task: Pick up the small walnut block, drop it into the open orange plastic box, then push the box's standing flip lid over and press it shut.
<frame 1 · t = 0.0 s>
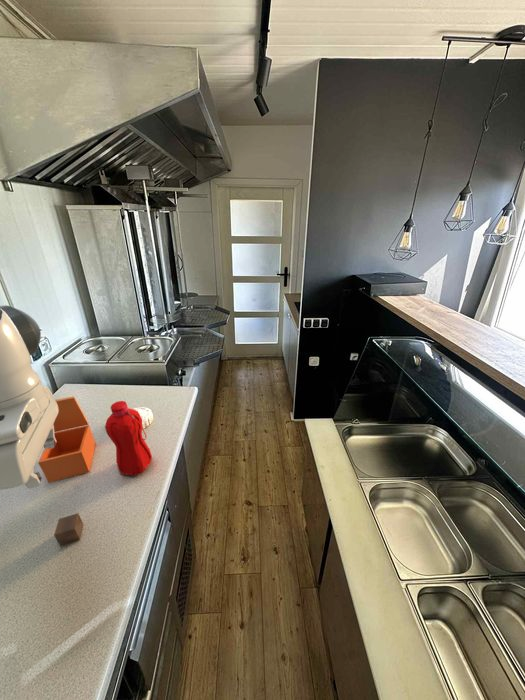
hand: (43, 463, 53), 34 cm above the countertop, tool pointing down, fingers open, 8 cm apart
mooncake: (137, 422, 115), on the countertop
block: (72, 534, 75), on the countertop
cupcake: (38, 440, 107), on the countertop
box: (73, 461, 97), on the countertop
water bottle: (138, 466, 95), on the countertop
box lid: (61, 415, 94), point 16 cm above the countertop, hinge at 75.0°
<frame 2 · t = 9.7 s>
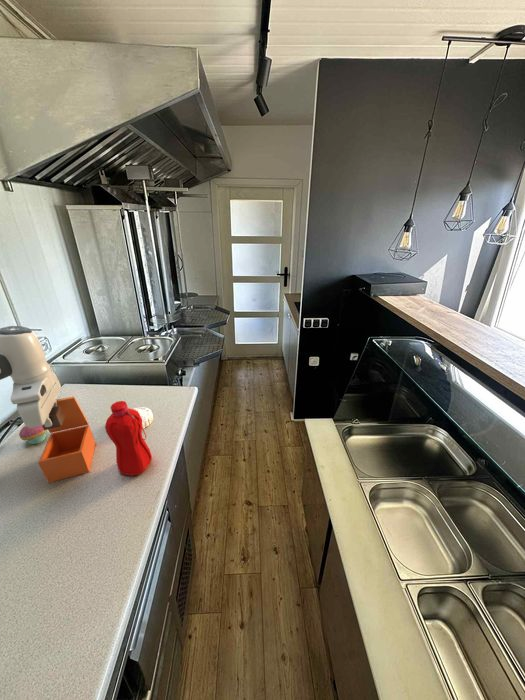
hand: (52, 419, 87), 20 cm above the countertop, tool pointing down, fingers closed on block, 4 cm apart
block: (54, 423, 88), point 18 cm above the countertop, touching gripper
box lid: (61, 415, 94), point 16 cm above the countertop, hinge at 74.9°, touching gripper
everything else where it was.
when the fingers open (10 cm above the countertop, at t = 12.5 s): block drops 8 cm, resting on box.
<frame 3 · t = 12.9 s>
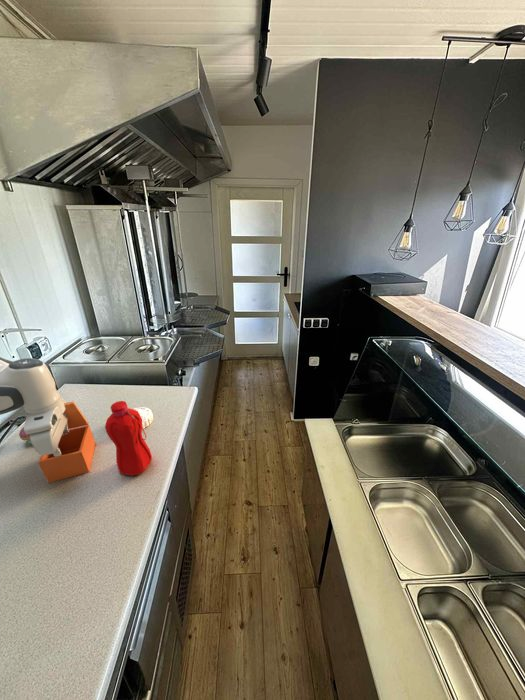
hand: (62, 444, 90), 10 cm above the countertop, tool pointing down, fingers open, 8 cm apart
block: (72, 466, 94), point 1 cm above the countertop, touching box
box lid: (61, 417, 94), point 16 cm above the countertop, hinge at 66.5°, touching arm, gripper
everything else where it was.
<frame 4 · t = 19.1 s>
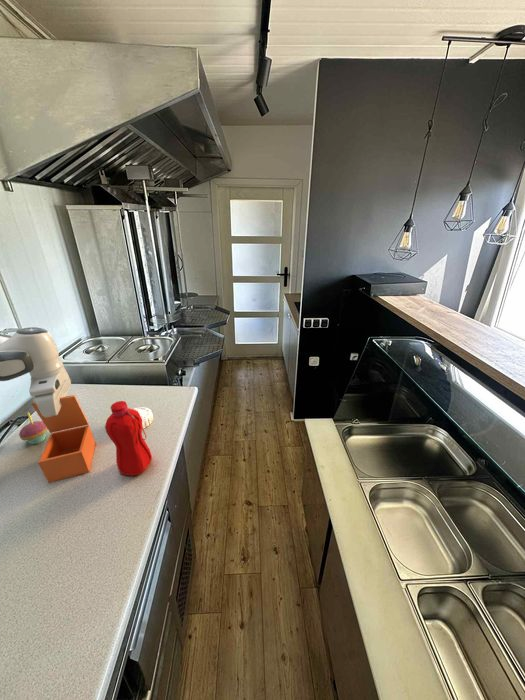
hand: (63, 411, 97), 16 cm above the countertop, tool pointing down, fingers closed
box lid: (62, 414, 95), point 16 cm above the countertop, hinge at 77.4°, touching gripper
everything else where it was.
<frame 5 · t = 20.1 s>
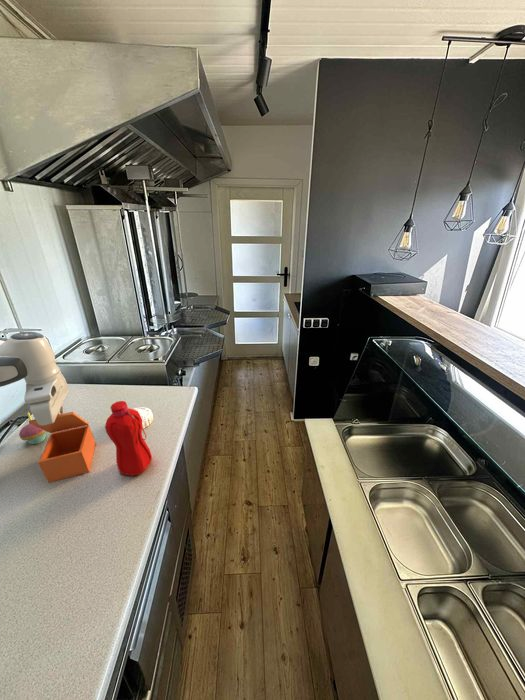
hand: (60, 418, 93), 16 cm above the countertop, tool pointing down, fingers closed
box lid: (61, 422, 93), point 15 cm above the countertop, hinge at 52.1°, touching gripper
everything else where it was.
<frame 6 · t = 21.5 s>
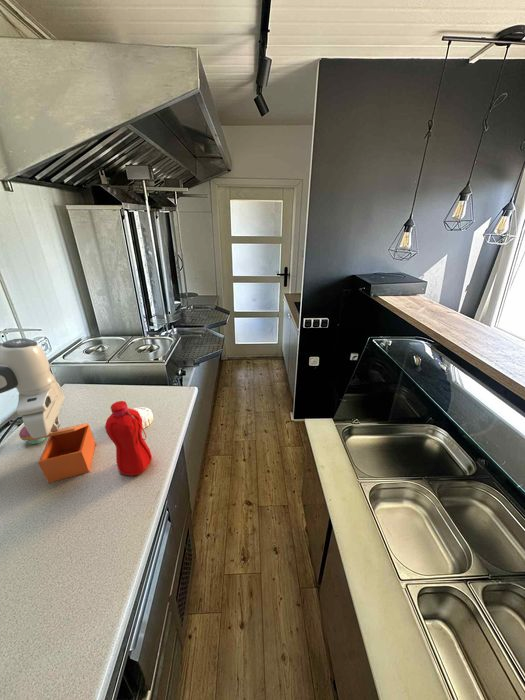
hand: (56, 428, 89), 16 cm above the countertop, tool pointing down, fingers closed
box lid: (61, 431, 92), point 13 cm above the countertop, hinge at 31.3°
everything else where it was.
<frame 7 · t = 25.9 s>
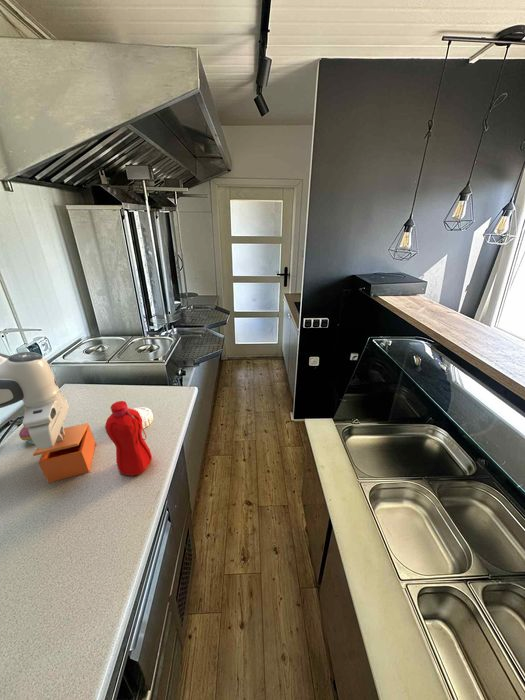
hand: (61, 438, 90), 12 cm above the countertop, tool pointing down, fingers closed
box lid: (63, 438, 92), point 11 cm above the countertop, hinge at 12.3°, touching gripper
everything else where it was.
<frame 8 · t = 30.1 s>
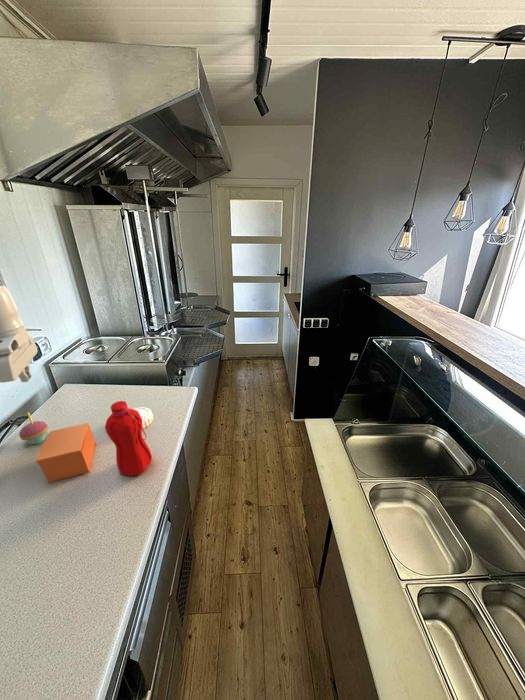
hand: (27, 379, 87), 31 cm above the countertop, tool pointing down, fingers closed
box lid: (64, 441, 93), point 10 cm above the countertop, hinge at 2.4°
everything else where it was.
at the end: block inside the target area in the box (3.1 cm from its centre), point 0.8 cm above the box's base; box lid at +2° (first picture: +75°) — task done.
